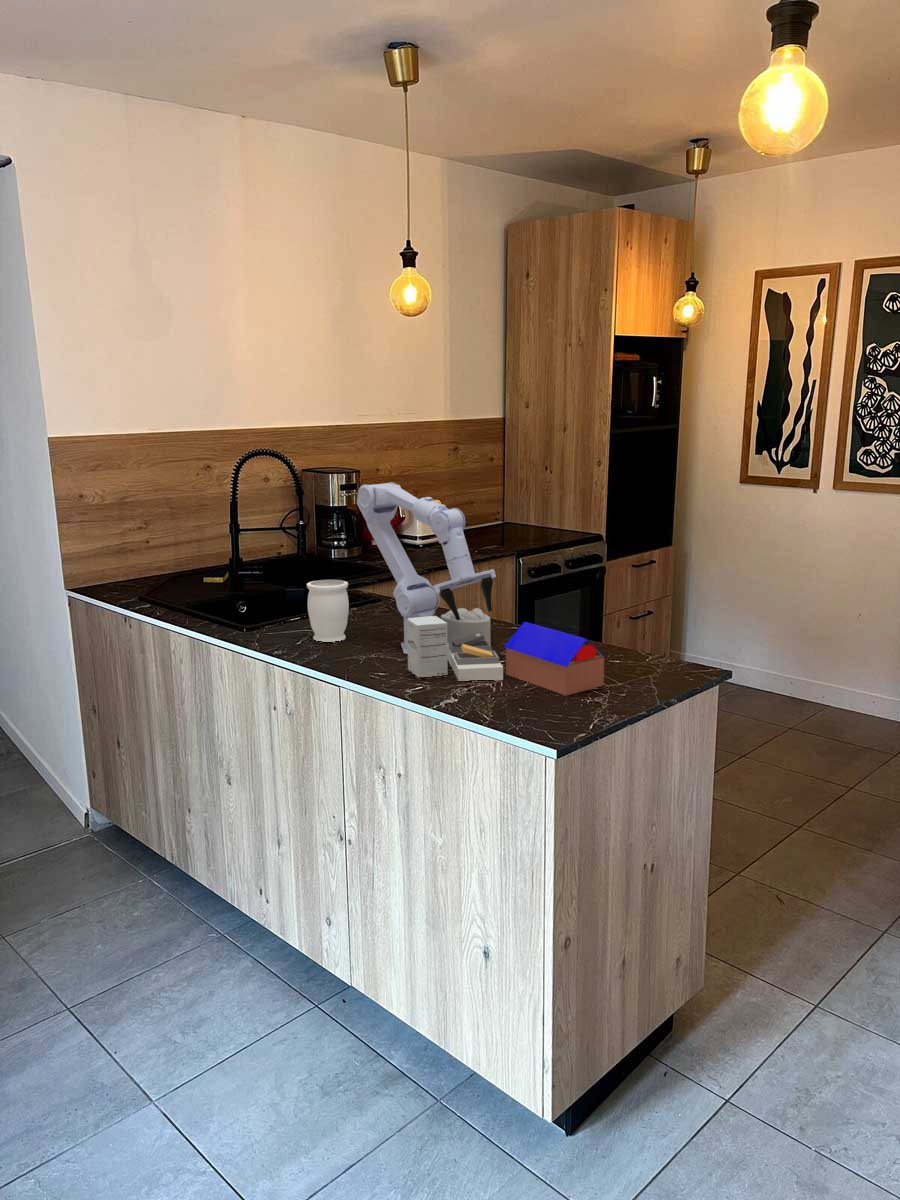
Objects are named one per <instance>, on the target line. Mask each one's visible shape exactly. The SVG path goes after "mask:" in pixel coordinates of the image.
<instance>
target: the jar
mask: <svg viewBox="0 0 900 1200" xmlns="http://www.w3.org/2000/svg"><path fill="white" fill-rule="evenodd" d="M348 587H349V582H348V581H345V580H342V579H320V580H312V581H309V582H308V583H306V588H307V589H308V590H309V591H308V594H307V613H308V618H309V623H310V627H311V630H312V631H313V633H314V635H313V637H312V639H314V640H316V641H315V642H317V641H322V642H333V643H336V642H335V641H339V642H341V640H342V641H344V640H346V638H347V637H346V634H345V633H344V632H345V631H346V628H347V625H348V617H349V611H350V605H349V604H350V603H349V595H348V590H347V589H348ZM314 640H313V641H314ZM322 642H321V643H322Z"/></svg>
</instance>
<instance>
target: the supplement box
mask: <svg viewBox="0 0 900 1200" xmlns="http://www.w3.org/2000/svg"><path fill="white" fill-rule="evenodd" d="M407 633H408V654H407V671H408V670H409V671H408V672H410V671H411V672H412V673H413V674H415V675H416V676H417V677H418V678H419V677H432V676H442V675H449V674H448V670H449V669H448V668H449V667H448V664H449V663H448V662H449V661H448V659H447V622H445V621H443V620H442V619H441V617H438V616H437V615H433V616H426V617H416V618H408V619H407ZM411 672H410V673H411ZM412 673H411V674H412ZM413 674H412V675H413ZM416 676H415V677H416ZM417 677H416V678H417ZM418 678H417V679H418Z"/></svg>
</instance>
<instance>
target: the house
mask: <svg viewBox="0 0 900 1200" xmlns="http://www.w3.org/2000/svg"><path fill="white" fill-rule="evenodd" d="M504 648H505V675H506V676H508V675H509V676H508V677H511V676H512V678H514V677H515V678H514V679H517V678H518V679H517V680H520V681H522V680H523V682H525V681H526V683H528V682H529V684H532V685H534V686H537V687H539V686H540V688H542V687H543V689H545V688H546V689H545V690H548V689H549V690H548V691H551V690H552V691H551V692H553V693H554V692H555V693H556V692H557V694H560V695H562V696H570V695H573V694H577V693H580V692H581V693H582V692H584V691H585V692H586V691H589V690H593V689H597V688H601V687H604V686H605V685H604V684H605V683H604V681H605V680H604V678H605V658H607V656H606V654H604V653H603V652H602V651H600V649H599V648H597V646H596V645H594V643H592V642H591V641H590V640H589V639H588V638H585V637H582V636H577V635H575V634H571V633H566V632H563V631H560V630H556V629H552V628H549V627H545V626H542V625H538V624H535V623H531V622H527V621H523V622H522V624H521V625H520V626H519V628H518V629H517V630H516V632H515V633H514V634H513V635H512V636H511V638H510V639H509V640H508V641H507V643H506V644H505V645H504Z"/></svg>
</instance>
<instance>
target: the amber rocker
mask: <svg viewBox="0 0 900 1200" xmlns="http://www.w3.org/2000/svg"><path fill="white" fill-rule="evenodd" d="M461 649H462V651H463V652H465V653H469V654H472V655H476V656H480V657H483V658H486V657H493V654H492V652H491V651H487V650H483V649H480V648H476V647H472V646H469V645H465V644H462V645H461Z"/></svg>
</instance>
